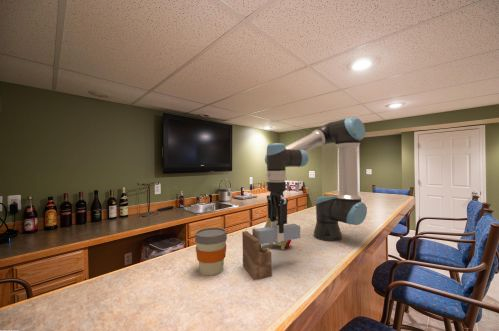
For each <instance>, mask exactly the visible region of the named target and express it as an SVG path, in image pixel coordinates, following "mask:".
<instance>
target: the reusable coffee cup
mask: <svg viewBox="0 0 499 331" xmlns="http://www.w3.org/2000/svg"><path fill="white" fill-rule="evenodd" d="M194 234H195V235H194V242H195V245H196V246H195V253H196V259H197V261H198V266H199V272H200V274H201V275H204V276H209V277H210V276H215V275H216V276H217V275H218V274H220V273H222V272H223V271H224V264H225V263H224V262H225V259H226V253H227V240H228V236H227V230H226V229H225V228H222V227H206V228H202V229H201V228H200V229H199V230H197V231H196V232H195V233H194Z"/></svg>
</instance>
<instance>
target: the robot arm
mask: <svg viewBox="0 0 499 331" xmlns="http://www.w3.org/2000/svg"><path fill="white" fill-rule="evenodd" d="M365 136H366V127H365V125H364V122H362V120H361V119H360V118H358V117H356V116H355V117H353V116H352V117H347V118H343V119H339V120H335V121H331V122H328V123H326V124H324V125H322V126H320V127H318V128H316V129H314V130H313V131H312V132H311V133H310V134H308V135H305V136H303V137H302V138H299V139H298V140H296V141H294V142H291V143H290V144H287V145H286V144H285V143H281V142H277V143H276V142H275V143H269V144H267V146H266V155H265V157H264V162H265V164H266V177H267V178H266V179H267V182H266V184H267V185H266V187H267V188H266V189H267V191H268V192H269V195H266V200H267V220H268V219H270V221H271V227H273V226H277V241H278V242H281V241H284V225H288V202H289V199H288V198H285V196H284V192H286V191H287V190H286V189H287V183H286V180H287V176H286V173H287V172H286V171H287V170H286V168H296V167H297V168H301V167H302V168H303V167H305V166H306V165H307V164H308V162H309V154H308V152H309V151H311V150H313V149H315V148H317V147H322V146H325V145H328V144H335V147H337V148H338V175H339V176H338V178H339V180H338V181H339V182H338V189H339V192H338V193H339V194H338V195H326V196H325V195H324V196H318V197H317V198H316V200H315V215H316V217H315V218H316V219H315V220H316V223H315V226H314V230H313V237H314V238H315V239H318V240H320V241H328V242H335V241H337V242H338V241H340V240H342V238H343V234H342V232H341V228H340V225H339V222H340V223H345V224H348V225H354V226H359V225H361V224H362V223H363V222H364V221H365V220H366V217H367V215H368V213H367V212H368V209H367V208H368V207H367V206H366V203H364V202H362V197H361V196H360V195H359V192H358V191H359V188H358V186H359V184H358V150H357V149H358V147H359V146H360V145H361V141H362V140H363V139H364V138H365Z"/></svg>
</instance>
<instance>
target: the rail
mask: <svg viewBox="0 0 499 331" xmlns="http://www.w3.org/2000/svg"><path fill="white" fill-rule="evenodd" d="M264 227H265V226H264ZM264 227H259V228H252V230H251V231H252V232H251V233H252V234H251V235H253V236H254V237H255V238H257V239H258V240H259V245H261V246H262V245H267V244H269V243H273V244H274V242H278V241H277V226H273V227H265V228H264ZM297 239H301V226H300V224H299V225H298V224H297V223H291V224H284V241H286V240H291V241H292V240H297Z"/></svg>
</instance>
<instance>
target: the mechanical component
mask: <svg viewBox="0 0 499 331" xmlns="http://www.w3.org/2000/svg"><path fill="white" fill-rule="evenodd" d="M265 227H271V221H270V219H268V218H267V220H266V223H265V225H264V227H263V228H265ZM291 243H292V240H286V241H279V242H273V243H268V245H269V246H271V245H273V244H275V245H277V246H278V247H279V246H280V250H282V251H284V249H285V247H286V248H287V249H288V248H289V247H290V245H291Z"/></svg>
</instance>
